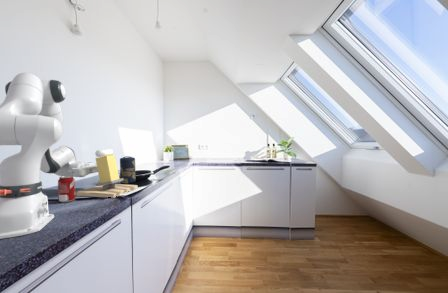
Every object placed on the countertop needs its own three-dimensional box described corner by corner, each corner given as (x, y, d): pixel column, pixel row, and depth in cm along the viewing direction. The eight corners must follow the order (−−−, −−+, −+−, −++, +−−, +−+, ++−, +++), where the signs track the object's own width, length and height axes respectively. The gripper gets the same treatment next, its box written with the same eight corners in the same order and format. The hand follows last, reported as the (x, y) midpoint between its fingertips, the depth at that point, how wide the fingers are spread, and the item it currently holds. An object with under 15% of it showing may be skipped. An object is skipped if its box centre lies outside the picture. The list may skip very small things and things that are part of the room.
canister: (132, 184, 153) (131, 156, 152) (117, 184, 153) (117, 156, 152) (137, 181, 163) (137, 155, 162) (124, 181, 163) (123, 155, 162)
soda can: (67, 203, 109) (66, 177, 109) (54, 202, 111) (54, 177, 110) (78, 199, 116) (78, 175, 115) (67, 199, 117) (66, 175, 117)
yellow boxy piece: (112, 183, 126) (105, 148, 126) (95, 186, 128) (89, 152, 128) (123, 180, 136) (117, 147, 136) (108, 182, 138) (102, 150, 138)
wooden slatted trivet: (113, 197, 119) (113, 189, 119) (76, 195, 124) (76, 187, 123) (137, 188, 141) (137, 181, 141) (105, 186, 145) (105, 180, 145)
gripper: (65, 166, 125) (88, 166, 122) (93, 162, 145) (113, 162, 142) (65, 178, 125) (88, 178, 122) (93, 172, 145) (113, 172, 143)
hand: (102, 170), depth 133 cm, fingers closed, pressing on yellow boxy piece
